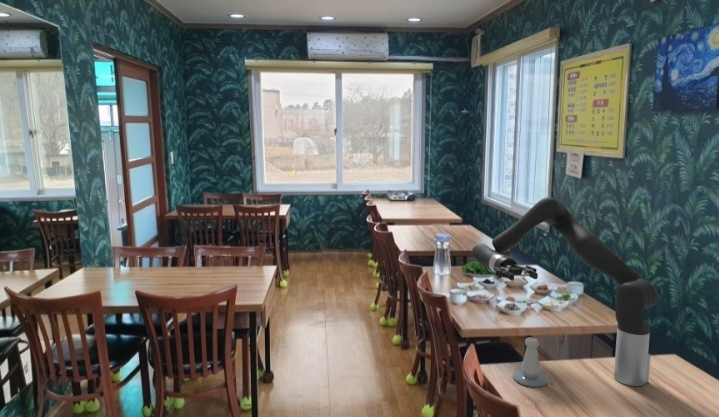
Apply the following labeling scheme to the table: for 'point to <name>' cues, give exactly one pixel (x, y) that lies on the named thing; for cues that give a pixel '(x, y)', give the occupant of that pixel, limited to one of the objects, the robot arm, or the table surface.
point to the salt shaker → (531, 359)
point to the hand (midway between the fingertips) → (524, 277)
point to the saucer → (537, 382)
